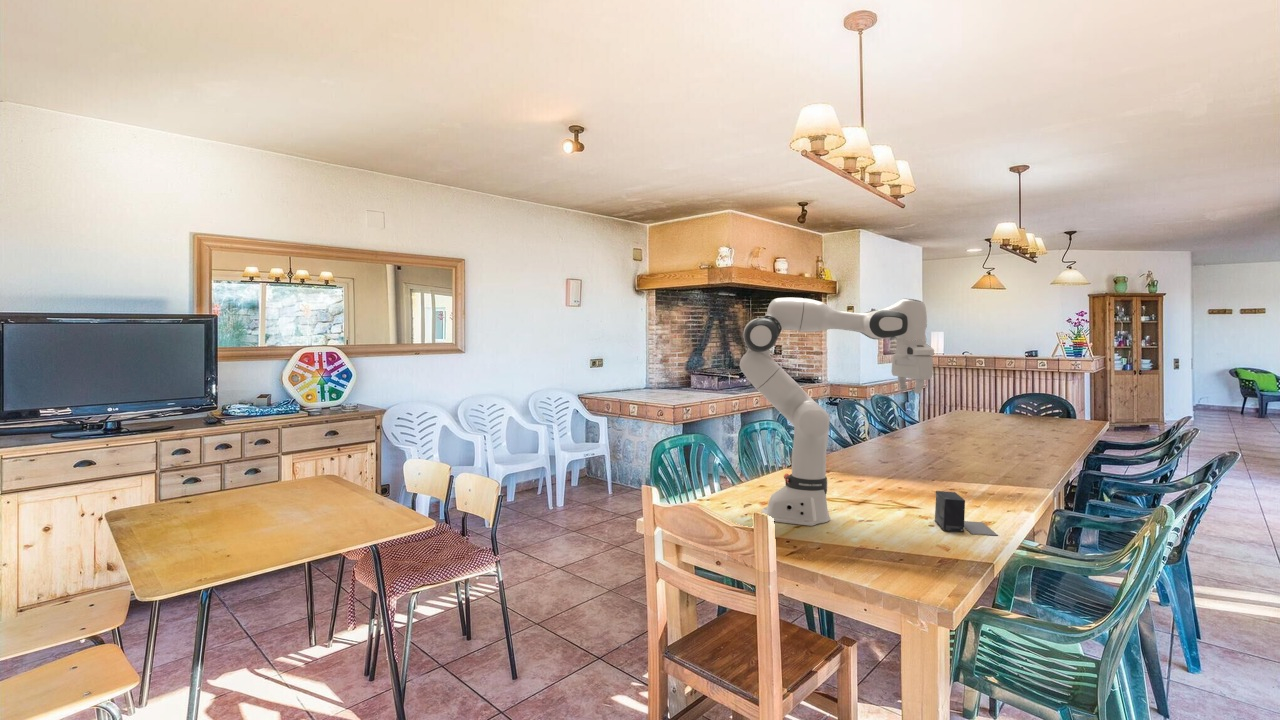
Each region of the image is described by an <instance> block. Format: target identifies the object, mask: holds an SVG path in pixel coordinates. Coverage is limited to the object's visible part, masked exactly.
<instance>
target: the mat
mask: <svg viewBox="0 0 1280 720" xmlns="http://www.w3.org/2000/svg"><path fill="white" fill-rule="evenodd" d="M964 530H966V531H967V532H968V533H970V535H976V536H994V537H998V536H999V534H997V533H996V532H995V531H994V530H993V529H991V528H990V527H989V526H988V525H986V524H985V523H984V522H983V521H968V520H967V521H966V520H964Z"/></svg>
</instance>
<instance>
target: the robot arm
mask: <svg viewBox="0 0 1280 720" xmlns="http://www.w3.org/2000/svg"><path fill="white" fill-rule="evenodd" d="M927 323H928V319H927V307H926V305H925V303H924V302H923V301H921V300H919V299H914V298H913V299H912V298H900V299H899V301H897V302H894V303H893V304H892V305H889V306H887V307H884V308H881V309H873V310H870V311H869V310H868V311H867V312H862V313H859V312H852V311H845V310H844V311H842V310H838V309H834V308H832V307H830V306H829V305H828V304H826V303H825V302H823V301H820V300H815V299H813V298H812V299H811V298H806V297H804V298H803V297H795V296H794V297H793V296H792V297H788V296H787V297H777V298H774V299H772V300H771V301H770V303H769V305H768V307H767V311H766V314H765V315H764V316H761V317H757V318H753V319H751V320H749V321H748V322H747V324H746V325H745V326H744V329H743V334H742V336H743V340H744V343H745V346H746V349H747V350H746V352H745V353H744V355H743V356H742V357H741V358H740V362H739V369H740V371H741V372H742V373H743V375H744V376H745V378H746V379H747V381H749V383H750V384H751V385H752V386H753V387H754V389H756V390H757V391H758V392H759V393H760V394H761V395H762V396H763V397H764V398H765V399H766V400H767V401H768V402H769V403H770V404H771V405H772V406H773V407H774V408H775V409H776V410H777V411H778V412H779V413H780V414H781V415H782V416H783V417H784V418H785V419H786V420H787V421H788V422H789V423H790V424H791V425H792V426H793V428H794V429H793V442H792V451H791V474H789V473H784V474H783V479H784V480H785V485H784V486H783V487H780V489H778V490H777V491H775V492H773V494H771V495H770V497H769V500H768V503H767V506H766V507H764V508H762V509H761V514H762V513H765V514H767V515H769V516H771V517H772V518H774V520H775V522H774V523H776V522H777V523H785V524H792V525H801V526H809V527H810V526H811V527H813V526H816V525H819V524H824V523H827V522H829V521H831V517H830V513H829V509H828V503H827V494H828V493H827V492H828V477H827V474H826V473H827V471H826V470H827V449H828V443H829V442H828V441H829V436H830V435H829V433H830V421H831V420H830V417H829V414H828V411H826V409H824V408H823V407H822V406H821V405H819V404H818V403H817V402H816V401H815V400H814V399H813V398H812V397H811V396H810V395H809V394H808V393H807V391H805V390H804V389H803V387H801V386H800V384H799V383H798V382H797V381H795V379H793V377H792V376H791V375H789V374H788V372H786V370H784V368H782V367H781V365H780V364H778V363H777V361H775V360H774V358H773V357H772V356H771V354H770V349H772V348H773V347H774V346H775V345H776V343H777V340H778V339H779V337H780V334H781V332H782V331H794V332H803V333H814V332H815V333H817V332H822V331H827V330H842V331H849V332H850V331H851V332H856V333H861V334H862V335H864V336H865V337H867V338H869V339H873V340H886V339H890V338H893V337H895V338H896V343H895V344H896V346H895V347H896V351H895V352H894V354H893V356H892V361H891V375H892V376H893V377H897V382H898V385H899V390H900V391H903V392H905V391H907V390H908V385H907V383H906V380H907V378H908V379H913V380H914V383H915V386H914V387H913V393H914V394H921V393H922V389H923V386H924V383H925V380H931V378H932V376H933V371H934V370H933V367H934V365H933V364H934V359H933V357H932V356H934V355H935V350H934V348H933V347H931V346H930V345H929V344H928V343H927V336H926V331H927V325H928V324H927Z"/></svg>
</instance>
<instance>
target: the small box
mask: <svg viewBox="0 0 1280 720" xmlns="http://www.w3.org/2000/svg"><path fill="white" fill-rule="evenodd" d="M934 507H935V509H934V510H935V511H934V512H935V513H934V523H935V524H936V525H937V526H938V527H939V528H940V529H941V530H942V531H943V532H954V533H965V528H964V521H965V513H966V512H965V509H966V500H965V498H963V497H962V496H960V495H959V494H958V493H957V492H955V491H954V492H953V491H945V490H944V491H943V490H935V506H934Z"/></svg>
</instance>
